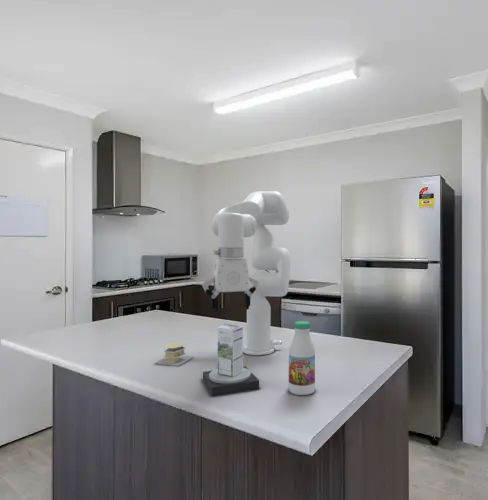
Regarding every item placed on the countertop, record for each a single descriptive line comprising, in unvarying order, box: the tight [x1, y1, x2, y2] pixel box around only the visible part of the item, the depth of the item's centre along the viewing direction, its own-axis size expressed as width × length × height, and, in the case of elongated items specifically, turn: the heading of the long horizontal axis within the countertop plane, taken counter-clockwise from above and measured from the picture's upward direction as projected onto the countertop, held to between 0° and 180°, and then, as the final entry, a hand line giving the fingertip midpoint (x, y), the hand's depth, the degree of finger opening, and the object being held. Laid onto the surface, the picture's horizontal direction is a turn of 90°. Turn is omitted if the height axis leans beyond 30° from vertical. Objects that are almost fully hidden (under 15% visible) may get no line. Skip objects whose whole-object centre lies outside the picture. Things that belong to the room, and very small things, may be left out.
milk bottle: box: [288, 320, 316, 396], centre depth 107 cm, size 8×8×20 cm
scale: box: [202, 365, 260, 397], centre depth 112 cm, size 14×14×3 cm
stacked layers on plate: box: [156, 342, 193, 367], centre depth 134 cm, size 10×9×6 cm
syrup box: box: [217, 323, 244, 377], centre depth 112 cm, size 6×6×14 cm
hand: (231, 309), depth 112 cm, fingers open, 9 cm apart
